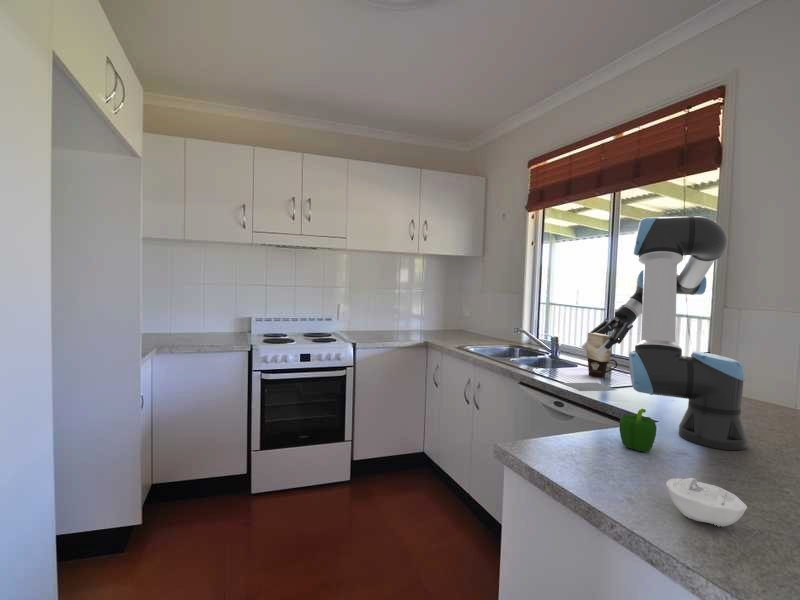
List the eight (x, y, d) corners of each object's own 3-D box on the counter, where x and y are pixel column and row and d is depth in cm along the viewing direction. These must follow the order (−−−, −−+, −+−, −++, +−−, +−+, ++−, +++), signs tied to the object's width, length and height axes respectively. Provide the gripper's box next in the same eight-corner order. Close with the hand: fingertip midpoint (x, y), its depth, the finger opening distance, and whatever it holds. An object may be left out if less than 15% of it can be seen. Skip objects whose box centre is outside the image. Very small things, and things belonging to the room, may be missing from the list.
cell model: (732, 546, 70) (735, 505, 70) (653, 512, 80) (656, 476, 80) (753, 527, 76) (756, 489, 76) (677, 497, 86) (680, 464, 85)
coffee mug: (581, 375, 195) (583, 353, 194) (595, 374, 198) (596, 352, 198) (603, 381, 184) (605, 358, 184) (617, 380, 188) (619, 357, 187)
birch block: (595, 357, 178) (596, 332, 177) (609, 361, 169) (611, 336, 168) (586, 357, 177) (587, 332, 176) (600, 361, 168) (602, 335, 167)
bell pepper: (636, 456, 105) (639, 416, 105) (611, 443, 113) (613, 405, 113) (664, 453, 108) (666, 414, 107) (637, 441, 116) (640, 404, 115)
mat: (596, 383, 180) (596, 382, 180) (616, 391, 168) (616, 390, 168) (561, 384, 177) (561, 383, 177) (579, 392, 165) (579, 390, 165)
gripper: (655, 321, 164) (615, 363, 162) (615, 316, 186) (580, 353, 183) (643, 307, 163) (603, 349, 161) (605, 303, 184) (569, 340, 182)
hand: (591, 351), depth 172 cm, fingers closed on birch block, 9 cm apart
